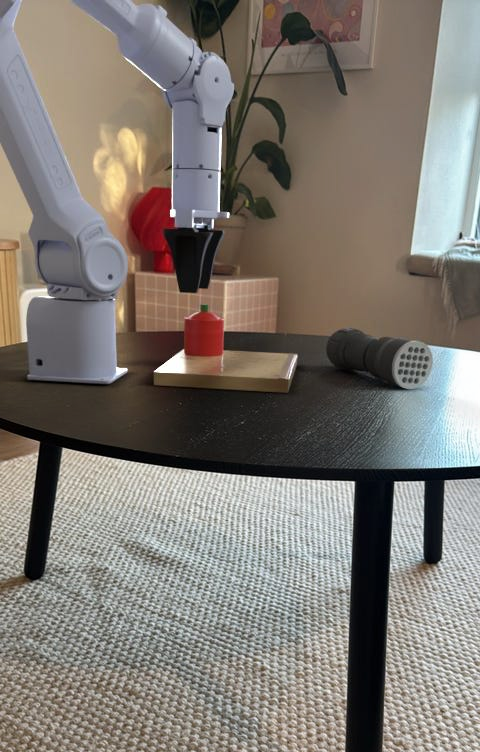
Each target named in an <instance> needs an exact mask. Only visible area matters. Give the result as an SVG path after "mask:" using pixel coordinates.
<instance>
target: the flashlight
mask: <svg viewBox="0 0 480 752" xmlns="http://www.w3.org/2000/svg"><path fill="white" fill-rule="evenodd" d="M325 348H326V349H325V350H326V356H327V358H328V360H329V361H330V363H331V364H332V365H333V366H334V367H335V368H337V369H340V370H343V371H358V372H366V373H369V374H370V375H371V376H372V377H373V378H375V379H379V380H381V381H384V382H386V383H387V384H389V385H391V386H395V387H399V388H401V389H406V390H413V389H414V390H415V389H418V388H419V387H421V386H423V384H425V382H426V381H427V380H428V378H429V377H430V375H431V373H432V369H433V365H434V363H433V362H434V359H433V353H432V351H431V349H430V347H429V346H428V345H427V343H424V342H422V341H420V340H415V339H409V338H404V337H397V338H394V337H389V336H382V337H379V338H378V337H374V336H373V335H370V334H366V333H365V332H364V331H362V330H360V329H356V328H352V327H344V328H340V329H338V330H336V331H335V332H333V333H332V334H331V335H330V336H329V338H328V340H327V342H326V347H325Z"/></svg>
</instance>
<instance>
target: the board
mask: <svg viewBox="0 0 480 752" xmlns="http://www.w3.org/2000/svg"><path fill="white" fill-rule="evenodd" d="M297 366H298V353H292V352H289V353H284V352H283V353H282V352H266V351H265V352H262V351H246V350H245V351H243V350H224V349H223V354H222V355H219V356H193V355H188V354H185V353H184V348H183V349H182V350H180V351H179V352H177V353H176V354H174V356H172V358H170V359H169V360H167V361H166V362H165V363H164V364H162V365H161V366H159V367H158V368H157V369H156V370H153V385H154V386H164V387H179V388H180V387H181V388H197V389H212V390H213V389H215V390H230V391H231V390H232V391H247V392H248V391H249V392H263V393H265V392H266V393H281V394H282V393H283V394H288V393H289V390H290V387H291V385H292V382H293V381H292V380H293V379H294V376H295V372H296V369H297Z"/></svg>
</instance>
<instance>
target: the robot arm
mask: <svg viewBox="0 0 480 752" xmlns="http://www.w3.org/2000/svg"><path fill="white" fill-rule="evenodd" d="M68 1H69V2H71V3H72V4H73V5H74V6H75V7H78V8H79V9H80V10H81V11H83V12H84V13H86V14H87V15H88V16H89V17H91V18H92V19H94V20H95V21H96V22H97V23H98V24H100V25H101V26H103V27H104V28H105V29H107V30H108V31H109V32H111V33H112V34H113V35H115V36H116V38H117V46H118V51H119V53H120V55H121V56H122V57H123V58H124V59H125V60H126V61H128V62H129V63H130V64H132V65H133V66H134V67H135V68H136V69H138V70H139V71H141V72H142V74H144V75H145V76H146V77H147V78H149V80H151V81H152V82H153V83H154V84H156V86H157V87H159V89H160V91H161V94H162V98H163V100H164V102H165V104H166V105H167V107H168V109H170V110H172V113H171V114H172V117H171V119H172V120H171V121H172V122H171V123H172V124H171V125H172V126H171V127H172V128H171V131H172V134H171V135H172V140H171V141H172V143H171V144H172V147H171V152H172V153H171V154H172V155H171V156H172V157H171V158H172V159H171V162H172V163H171V164H172V165H171V166H172V167H171V168H172V170H171V209H170V210H169V211H170V213H169V214H170V218H174V227H175V228H166V227H165V228H164V227H163V228H162V235H163V237H164V239H165V241H166V243H167V245H168V248H169V251H170V254H171V257H172V261H173V265H174V266H173V267H174V272H175V276H176V283H177V287H178V291H179V293H184V294H185V293H186V294H197V293H198V292H199V290H200V289H202V290H209V287H210V283H211V280H212V275H213V270H214V265H215V260H216V256H217V254H218V250H219V247H220V246H221V244H222V242H223V239H224V238H225V235H226V234H225V233H226V232H225V230H219V229H217V230H216V229H214V222H215V221H214V220H221V219H230V212H228V211H220V203H221V201H220V200H221V199H220V198H221V197H220V196H221V164H222V163H221V161H222V129H223V128H222V127H223V126H224V123H225V122H226V112H227V107H228V105H229V104H230V102H231V101H232V98H233V97H234V96H233V95H234V91H235V83H234V82H232V77H231V73H230V69H229V67H228V65H227V63H226V62H225V61H224V60H223V59H222V58H221V56H219V55H218V54H217V53H215V52H212V51H202V49H201V48H200V47H199V46H198V42H197V41H196V40H195V39H194V38H193V37H191V36H190V37H188V35H186V34H185V33H183V31H182V30H180V28H178V26H176V24H174V23H173V21H171V20H170V19H169V18H168V17H167V15H168V12H167V10H166V9H165V8H163V7H162V6H161V4H157V5H153V4H152V3H150V2H145V3H141V4H138V5H136V4H135V3H134V2H133V1H132V0H68ZM22 2H23V0H0V145H1V148H2V150H3V152H4V154H5V156H6V159H7V161H8V163H9V165H10V167H11V169H12V172H13V174H14V176H15V178H16V180H17V183H18V185H19V187H20V189H21V192H22V194H23V196H24V198H25V200H26V203H27V205H28V206H29V209H30V211H31V214H32V220H31V223H30V226H29V229H28V237H29V239H30V242H31V244H32V246H33V250H34V265H35V270H36V273H37V275H38V276H39V278H40V279H41V281H42V282H43V283H44V284H45V285H46V291H47V295H48V296H44V295H43V296H42V295H40V296H34V297H32V298H31V299H30V300H29V303H28V305H27V309H26V317H25V318H26V319H25V323H26V325H25V327H26V343H27V355H28V356H27V357H28V369H29V374H27V375H26V378H27V380H28V381H29V380H30V381H43V382H44V381H46V382H60V383H61V382H62V383H63V382H64V383H78V384H79V383H80V384H96V385H97V384H98V385H110V384H112V383H113V382H115V381H116V380H118V379H119V378H121V377H122V376H124V375H126V374H127V373H128V368H127V367H118V366H117V363H118V362H117V359H118V357H117V327H116V326H117V324H116V323H117V322H116V320H117V319H116V300H117V299H118V297H119V296H118V291H119V290H120V289H121V288H122V287H123V286H124V284H125V281H126V280H127V276H128V271H129V262H128V261H129V260H128V256H127V253H126V249H125V248H124V247H123V245H122V243H121V242H120V241H119V240H118V239H117V238H116V237H115V236H113V234H112V233H111V231H110V230H109V228H108V226H107V224H106V221H105V219H104V217H103V216H102V215H101V214H100V213H99V212H98V211H96V209H94V208H93V207H92V206H91V205H90V204H89V203H88V202H87V201H86V200H85V199H84V198H83V196H82V193H81V191H80V188H79V186H78V184H77V181H76V179H75V175H74V174H73V171H72V169H71V166H70V164H69V161H68V159H67V156H66V154H65V152H64V149H63V146H62V144H61V142H60V139H59V137H58V134H57V132H56V129H55V128H54V125H53V123H52V119H51V118H50V115H49V113H48V110H47V107H46V106H45V103H44V101H43V98H42V96H41V93H40V90H39V88H38V86H37V83H36V80H35V78H34V75H33V73H32V71H31V69H30V66H29V63H28V61H27V59H26V56H25V54H24V51H23V49H22V47H21V44H20V42H19V40H18V37H17V34H16V32H15V28H14V25H15V21H16V19H17V16H18V12H19V10H20V7H21V4H22Z"/></svg>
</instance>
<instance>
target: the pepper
mask: <svg viewBox="0 0 480 752" xmlns="http://www.w3.org/2000/svg"><path fill="white" fill-rule="evenodd" d="M199 308H200V310H199V311H197V312H194V313H192V314H191V315H189V316H185V317H184V318H183V319H184V320H183V322H184V324H183V327H184V328H183V336H184V337H183V349H184V353H185V354H188V355H193V356H219V355H222V354H223V350H224V337H225V319H224V318H223V317H220V316H217V315H216V314H215V313H213V312H211V311H209V304H208V303H200V306H199Z"/></svg>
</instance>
